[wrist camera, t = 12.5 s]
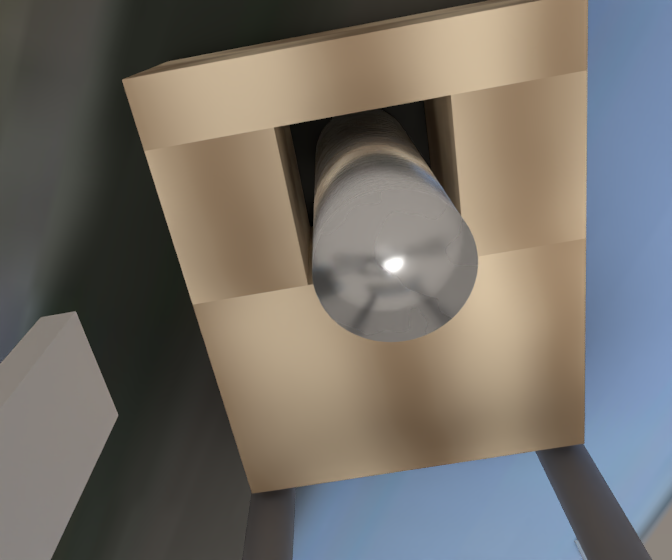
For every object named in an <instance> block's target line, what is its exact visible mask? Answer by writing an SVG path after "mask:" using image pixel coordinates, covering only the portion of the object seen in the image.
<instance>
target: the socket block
mask: <svg viewBox="0 0 672 560" xmlns="http://www.w3.org/2000/svg"><path fill="white" fill-rule="evenodd" d="M587 51H588V0H488V1H483V2H478V3H472V4H467V5H462V6H457V7H451V8H446V9H441V10H435V11H430V12H425V13H420V14H414V15H409V16H404V17H399V18H393V19H388V20H383V21H378V22H372V23H367V24H362V25H357V26H351V27H346V28H341V29H336V30H330V31H325V32H320V33H315V34H309V35H304V36H299V37H294V38H288V39H283V40H278V41H273V42H267V43H262V44H257V45H252V46H246V47H241V48H236V49H231V50H225V51H220V52H215V53H209V54H204V55H199V56H194V57H188V58H183V59H178V60H173V61H168V62H165V63H163V64H160V65H158V66H155V67H153V68H150V69H148V70H145V71H142V72H140V73H137V74H135V75H132V76H130V77H127V78H125V79H122V82H123V85H124V88H125V91H126V94H127V98H128V101H129V104H130V107H131V110H132V114H133V117H134V120H135V123H136V126H137V129H138V133H139V136H140V139H141V142H142V145H143V148H144V152H145V155H146V158H147V161H148V164H149V168H150V171H151V174H152V177H153V180H154V183H155V187H156V190H157V193H158V196H159V199H160V202H161V206H162V209H163V212H164V215H165V218H166V222H167V225H168V228H169V231H170V234H171V237H172V241H173V244H174V247H175V250H176V253H177V256H178V260H179V263H180V266H181V269H182V272H183V276H184V279H185V282H186V285H187V288H188V291H189V295H190V298H191V301H192V304H193V307H194V311H195V314H196V317H197V320H198V323H199V326H200V330H201V333H202V336H203V339H204V342H205V345H206V349H207V352H208V355H209V358H210V361H211V365H212V368H213V371H214V374H215V377H216V380H217V384H218V387H219V390H220V393H221V396H222V399H223V403H224V406H225V409H226V412H227V415H228V419H229V422H230V425H231V428H232V431H233V434H234V438H235V441H236V444H237V447H238V450H239V454H240V457H241V460H242V463H243V466H244V469H245V473H246V476H247V479H248V482H249V485H250V488H251V492H252V494H254V493H260V492H267V491H273V490H280V489H287V488H293V487H300V486H307V485H313V484H320V483H327V482H333V481H340V480H346V479H353V478H360V477H366V476H373V475H380V474H386V473H393V472H399V471H406V470H413V469H419V468H426V467H433V466H439V465H446V464H452V463H459V462H466V461H472V460H479V459H486V458H492V457H499V456H505V455H512V454H519V453H525V452H532V451H539V450H545V449H552V448H558V447H565V446H572V445H578V444H584V422H585V298H586V175H587ZM421 100H424V108H425V117H426V127H427V136H428V145H429V155H430V164H431V171H432V173H433V174H434V176H435V177H436V179H437V180H438V182H439V183H440V185H441V186H442V188H443V189H444V191H445V192H446V194H447V195H448V197H449V198H450V200H451V201H452V203H453V204H454V206H455V207H456V209H457V210H458V212H459V213H460V215H461V216H462V218H463V219H464V221H465V222H466V224H467V225H468V227H469V229H470V231H471V233H472V235H473V237H474V240H475V243H476V247H477V253H478V270H477V277H476V281H475V284H474V287H473V289H472V292H471V294H470V296H469V298H468V299H467V301H466V303H465V304H464V306H463V307H462V308H461V310H460V311H459V312H458V313H457V314H456V315H455V316H454V317H453V318H452V319H451V320H450V321H448V322H447V323H446V324H445V325H443V326H442V327H440V328H439V329H437V330H435V331H434V332H431V333H429V334H427V335H425V336H422V337H419V338H416V339H412V340H408V341H400V342H381V341H374V340H370V339H365V338H363V337H360V336H357V335H355V334H353V333H351V332H349V331H347V330H346V329H344V328H343V327H341V326H340V325H338V324H337V323H336V322H335V321H334V320H333V319H332V318H331V317H330V316H329V315H328V313H327V312H326V311H325V310H324V308H323V306H322V305H321V303H320V301H319V299H318V297H317V295H316V292H315V288H314V285H313V278H312V250H313V226H312V227H310V223H309V218H308V213H307V209H306V204H305V199H304V194H303V189H302V184H301V179H300V174H299V170H298V165H297V160H296V155H295V150H294V145H293V140H292V135H291V130H290V126H289V125H290V124H296V123H301V122H307V121H312V120H317V119H323V118H328V117H334V116H339V115H345V114H350V113H356V112H361V111H367V110H372V109H378V108H383V107H389V106H394V105H400V104H405V103H411V102H416V101H421Z"/></svg>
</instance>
